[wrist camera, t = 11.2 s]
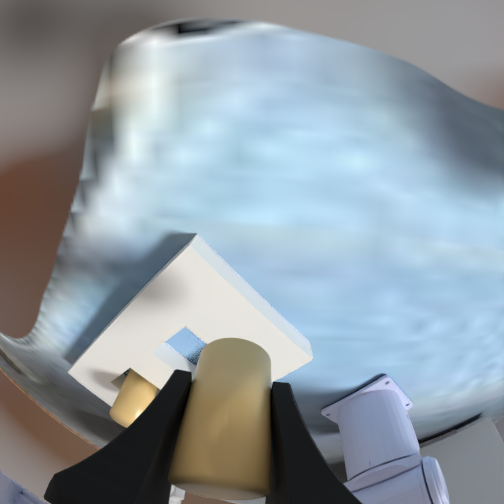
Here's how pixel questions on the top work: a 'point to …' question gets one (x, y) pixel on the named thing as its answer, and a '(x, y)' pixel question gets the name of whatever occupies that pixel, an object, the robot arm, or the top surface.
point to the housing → (186, 324)
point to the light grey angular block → (470, 463)
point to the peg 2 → (226, 424)
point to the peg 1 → (132, 399)
